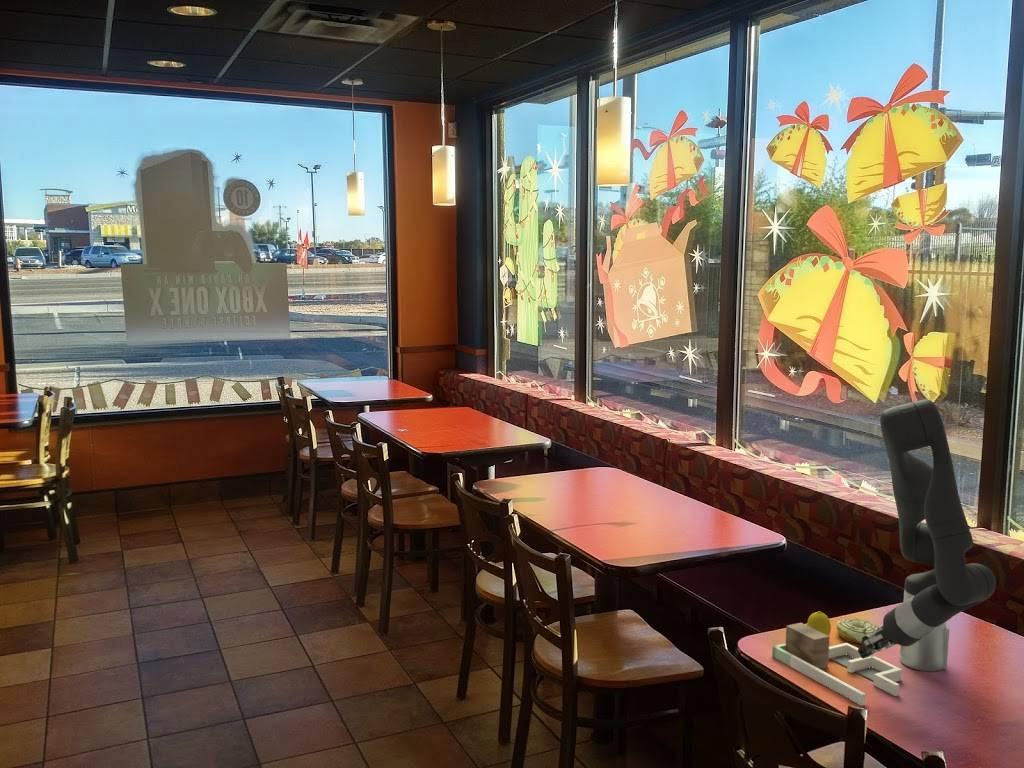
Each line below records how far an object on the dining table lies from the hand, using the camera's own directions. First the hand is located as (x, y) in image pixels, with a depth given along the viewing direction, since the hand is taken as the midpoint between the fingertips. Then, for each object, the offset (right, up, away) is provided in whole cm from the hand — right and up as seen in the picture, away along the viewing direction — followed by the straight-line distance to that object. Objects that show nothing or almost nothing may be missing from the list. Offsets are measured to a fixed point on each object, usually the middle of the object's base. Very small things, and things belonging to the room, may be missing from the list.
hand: (862, 653), depth 196 cm
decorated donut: (+10, -5, +29) cm, 31 cm away
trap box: (+1, -7, +6) cm, 10 cm away
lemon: (-1, -5, +25) cm, 26 cm away
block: (-7, -6, +15) cm, 18 cm away
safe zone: (-8, -6, +16) cm, 19 cm away
